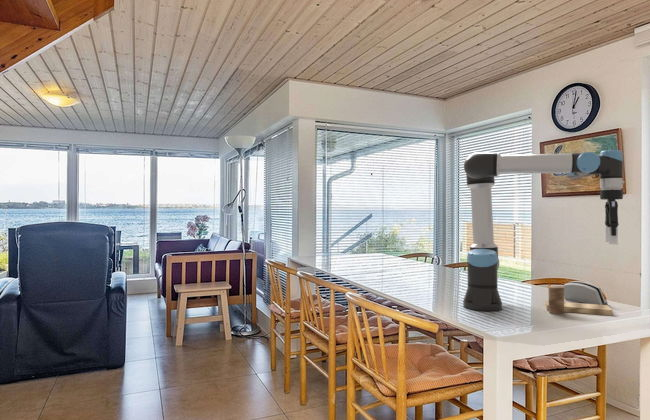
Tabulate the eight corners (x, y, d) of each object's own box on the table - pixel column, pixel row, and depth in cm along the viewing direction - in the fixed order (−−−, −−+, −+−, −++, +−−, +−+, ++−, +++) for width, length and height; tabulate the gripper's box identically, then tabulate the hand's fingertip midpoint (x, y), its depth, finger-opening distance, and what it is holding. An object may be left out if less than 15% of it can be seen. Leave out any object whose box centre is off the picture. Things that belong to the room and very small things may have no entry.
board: (547, 310, 170) (547, 305, 170) (545, 305, 179) (545, 300, 179) (612, 315, 162) (612, 310, 162) (607, 310, 170) (607, 305, 170)
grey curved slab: (608, 304, 180) (603, 283, 178) (602, 309, 178) (596, 287, 176) (571, 297, 195) (566, 277, 194) (564, 301, 193) (559, 281, 192)
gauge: (549, 313, 166) (549, 287, 166) (546, 305, 180) (546, 281, 180) (564, 314, 164) (564, 288, 164) (559, 306, 178) (559, 282, 178)
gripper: (627, 187, 157) (627, 245, 157) (618, 190, 179) (618, 241, 179) (603, 188, 160) (603, 244, 160) (597, 190, 182) (597, 240, 182)
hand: (611, 243), depth 170 cm, fingers open, 13 cm apart
